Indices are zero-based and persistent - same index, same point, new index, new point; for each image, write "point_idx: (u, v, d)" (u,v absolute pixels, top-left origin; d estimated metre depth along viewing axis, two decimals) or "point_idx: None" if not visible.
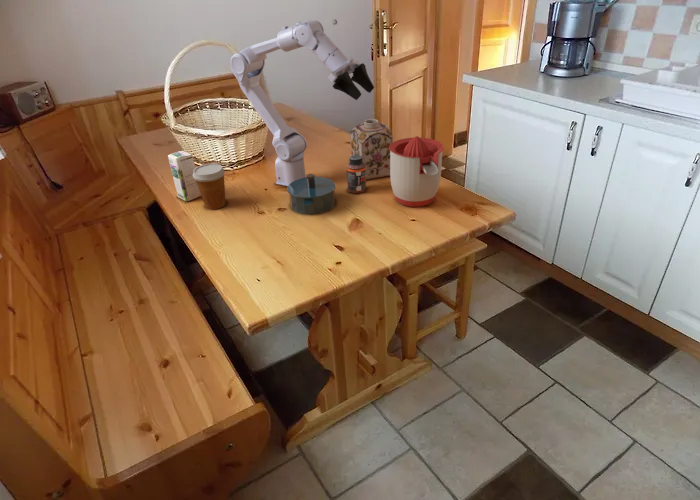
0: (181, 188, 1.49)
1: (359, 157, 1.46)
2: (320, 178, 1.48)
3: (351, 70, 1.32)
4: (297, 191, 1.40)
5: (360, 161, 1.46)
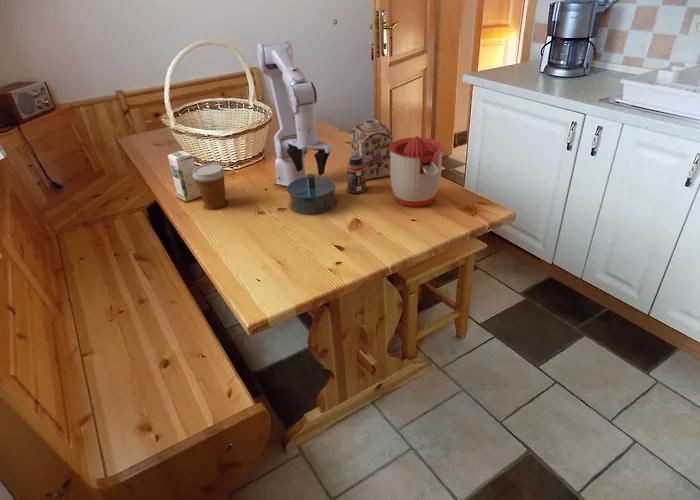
0: (181, 188, 1.49)
1: (359, 157, 1.46)
2: (320, 178, 1.48)
3: (314, 149, 1.35)
4: (297, 191, 1.40)
5: (360, 161, 1.46)
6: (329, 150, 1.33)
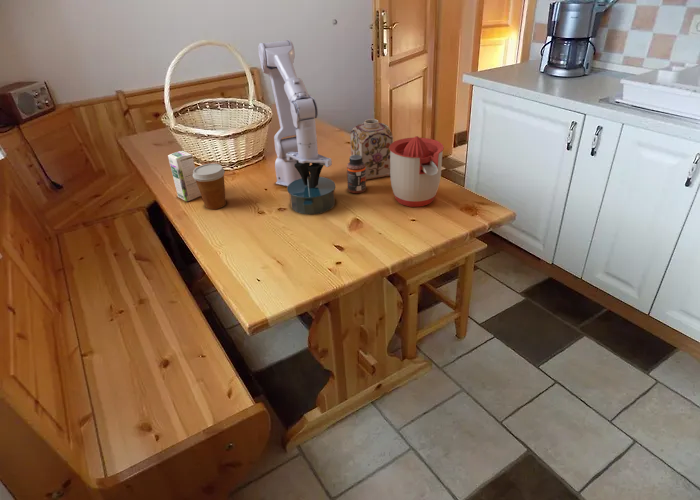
0: (181, 188, 1.49)
1: (359, 157, 1.46)
2: (320, 178, 1.48)
3: (314, 162, 1.37)
4: (297, 191, 1.40)
5: (360, 161, 1.46)
6: (329, 164, 1.35)
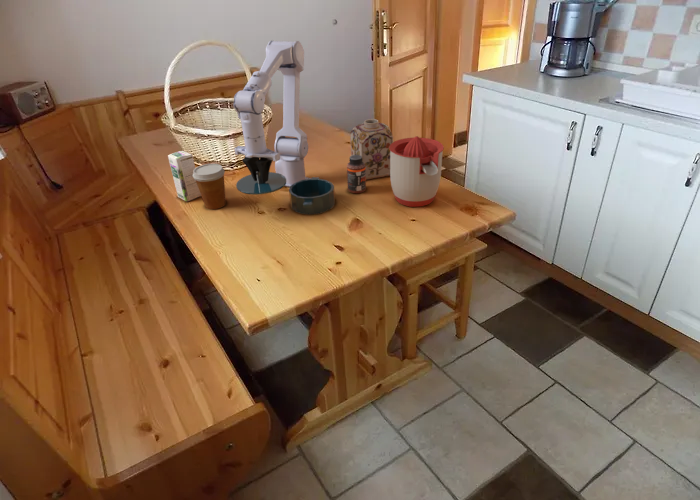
0: (181, 188, 1.49)
1: (359, 157, 1.46)
2: (272, 174, 1.43)
3: (263, 157, 1.33)
4: (246, 187, 1.35)
5: (360, 161, 1.46)
6: (277, 159, 1.31)
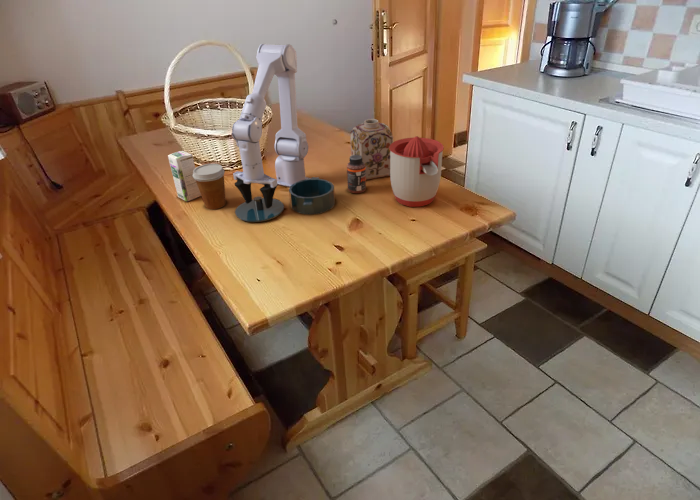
0: (181, 188, 1.49)
1: (359, 157, 1.46)
2: None
3: (260, 183, 1.37)
4: (245, 214, 1.40)
5: (360, 161, 1.46)
6: (274, 185, 1.34)
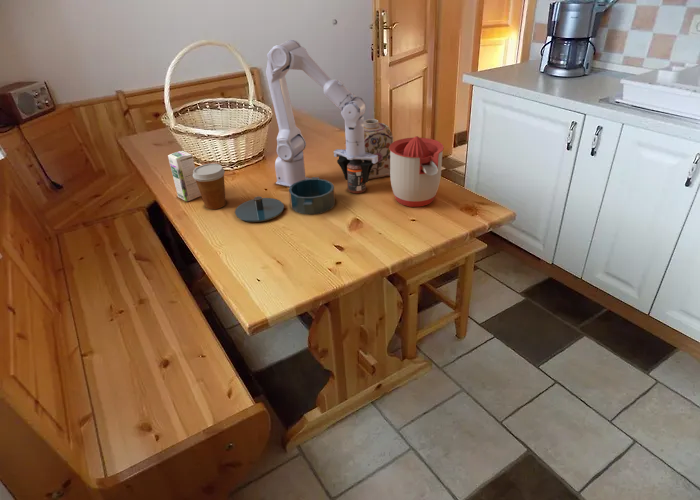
0: (181, 188, 1.49)
1: None
2: (270, 199, 1.47)
3: (361, 159, 1.46)
4: (245, 214, 1.40)
5: (360, 161, 1.46)
6: (376, 161, 1.44)
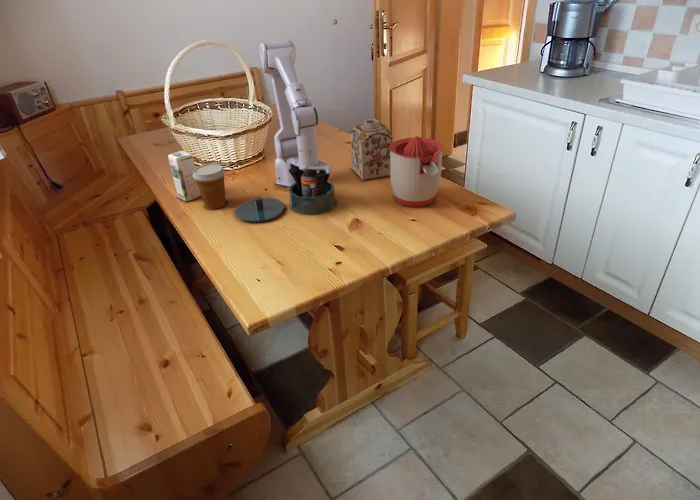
0: (181, 188, 1.49)
1: None
2: (270, 199, 1.47)
3: (315, 169, 1.38)
4: (245, 214, 1.40)
5: (314, 173, 1.39)
6: (330, 171, 1.36)
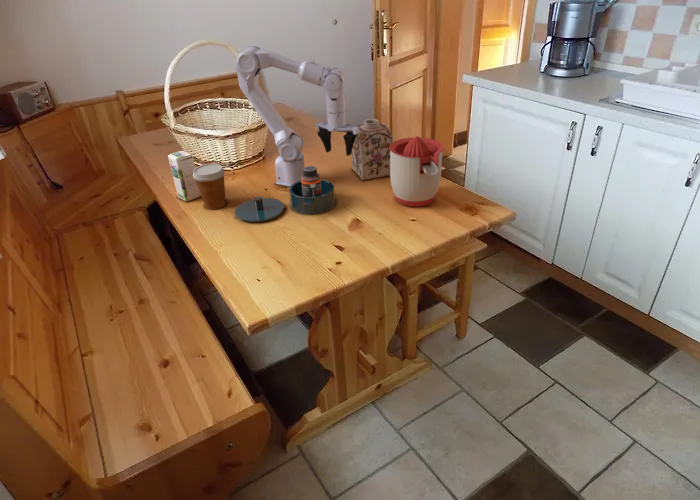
0: (181, 188, 1.49)
1: (313, 168, 1.39)
2: (270, 199, 1.47)
3: (343, 131, 1.47)
4: (245, 214, 1.40)
5: (314, 173, 1.39)
6: (357, 132, 1.45)
